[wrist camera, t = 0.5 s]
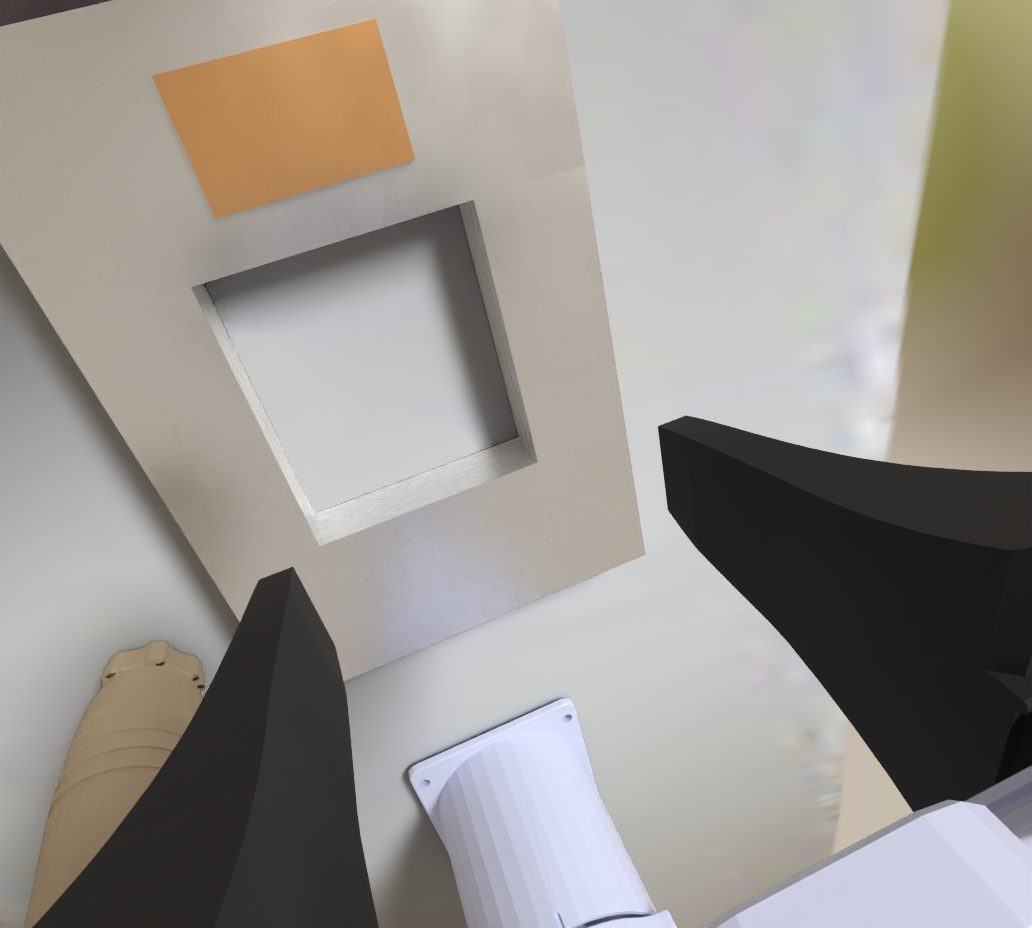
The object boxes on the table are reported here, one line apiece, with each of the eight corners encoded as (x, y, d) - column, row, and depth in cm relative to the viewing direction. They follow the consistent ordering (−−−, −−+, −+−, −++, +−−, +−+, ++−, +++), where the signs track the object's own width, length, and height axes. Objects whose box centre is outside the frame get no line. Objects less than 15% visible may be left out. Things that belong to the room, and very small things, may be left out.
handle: (192, 581, 22) (115, 1185, 10) (254, 708, 26) (254, 1281, 13) (34, 627, 21) (-272, 1366, 9) (120, 754, 25) (-17, 1422, 12)
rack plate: (621, 527, 28) (647, 557, 26) (288, 664, 25) (291, 708, 23) (515, -82, 17) (546, -104, 15) (-77, 59, 15) (-124, 53, 13)
